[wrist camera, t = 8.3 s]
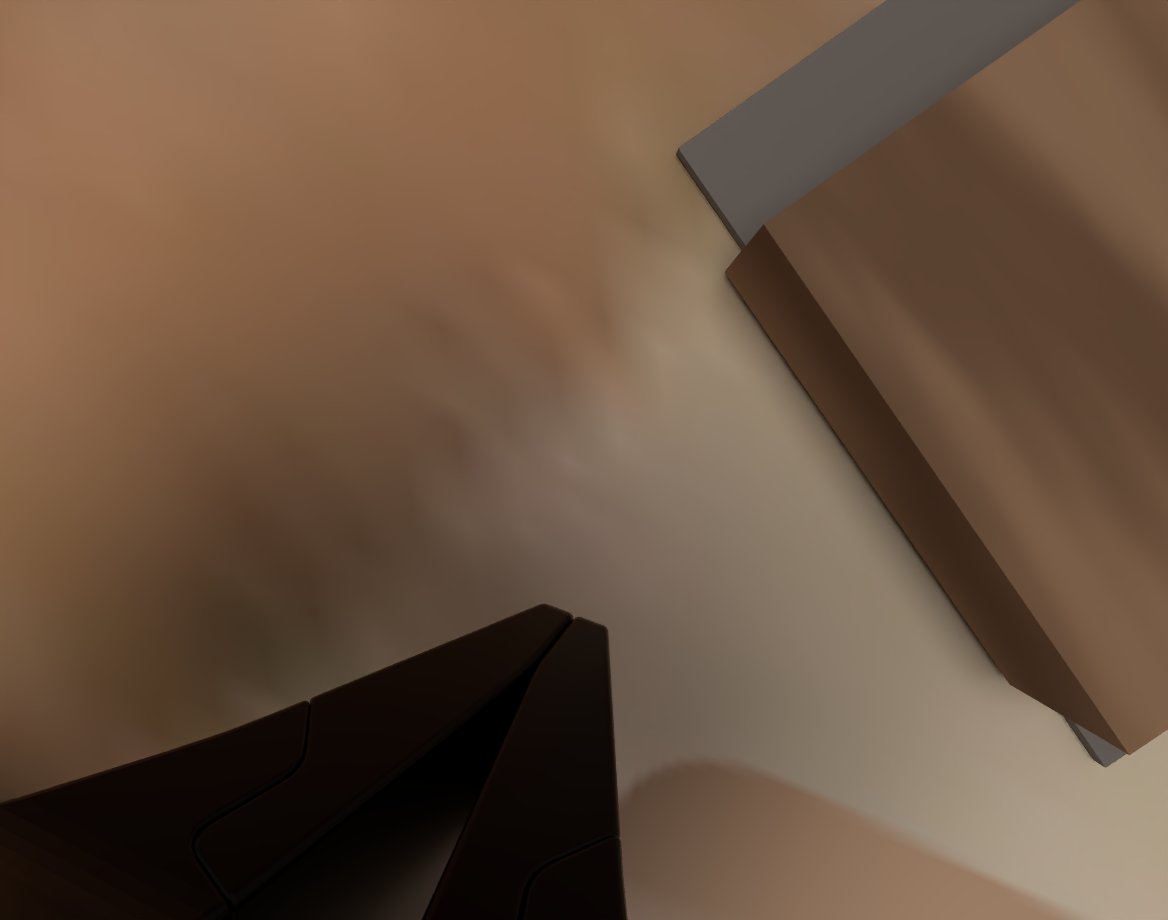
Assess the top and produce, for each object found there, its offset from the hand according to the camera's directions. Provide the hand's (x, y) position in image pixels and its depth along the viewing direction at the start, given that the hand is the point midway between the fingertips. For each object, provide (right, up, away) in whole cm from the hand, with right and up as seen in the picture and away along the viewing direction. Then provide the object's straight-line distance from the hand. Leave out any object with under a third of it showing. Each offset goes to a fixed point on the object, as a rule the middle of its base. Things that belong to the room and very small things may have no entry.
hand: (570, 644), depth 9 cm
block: (+7, +2, +7) cm, 10 cm away
